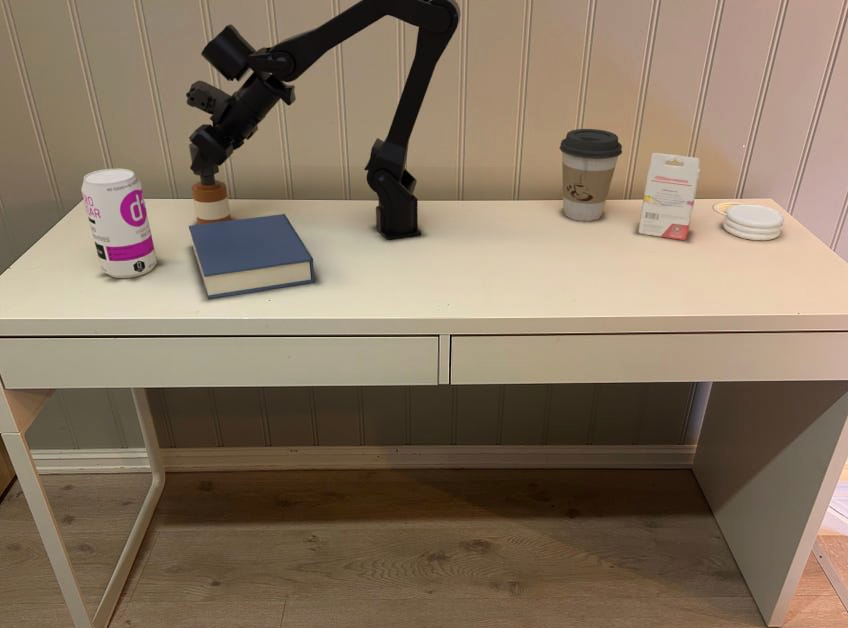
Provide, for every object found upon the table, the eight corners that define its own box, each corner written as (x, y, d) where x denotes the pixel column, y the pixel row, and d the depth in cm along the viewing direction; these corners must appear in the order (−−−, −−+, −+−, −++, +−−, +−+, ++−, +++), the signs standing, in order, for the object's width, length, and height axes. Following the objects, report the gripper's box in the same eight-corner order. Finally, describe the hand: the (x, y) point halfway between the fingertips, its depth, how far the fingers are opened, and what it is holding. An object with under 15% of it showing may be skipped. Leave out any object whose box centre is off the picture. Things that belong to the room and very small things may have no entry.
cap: (216, 167, 130) (212, 140, 127) (220, 174, 127) (216, 146, 124) (192, 169, 128) (187, 142, 126) (195, 176, 125) (190, 148, 123)
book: (286, 235, 128) (284, 213, 126) (315, 282, 113) (313, 258, 111) (192, 248, 123) (188, 225, 121) (208, 299, 108) (204, 274, 105)
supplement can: (168, 262, 118) (150, 171, 110) (134, 283, 111) (112, 187, 103) (127, 254, 120) (106, 164, 112) (90, 275, 114) (66, 180, 106)
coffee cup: (545, 219, 137) (553, 139, 130) (561, 200, 146) (569, 124, 138) (605, 229, 134) (617, 147, 126) (618, 209, 143) (629, 131, 135)
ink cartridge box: (688, 231, 134) (705, 151, 126) (685, 241, 130) (702, 159, 122) (641, 224, 136) (654, 145, 129) (636, 233, 132) (650, 152, 125)
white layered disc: (749, 244, 129) (754, 226, 127) (711, 225, 137) (715, 207, 135) (791, 236, 133) (797, 218, 131) (751, 218, 140) (756, 200, 138)
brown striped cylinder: (228, 215, 136) (221, 167, 131) (233, 227, 131) (226, 177, 126) (195, 219, 134) (187, 171, 129) (199, 231, 129) (191, 181, 124)
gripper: (231, 54, 126) (179, 118, 132) (192, 76, 110) (135, 147, 116) (281, 103, 130) (228, 162, 136) (250, 131, 114) (192, 197, 120)
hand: (197, 166), depth 127 cm, fingers closed on cap, 4 cm apart
